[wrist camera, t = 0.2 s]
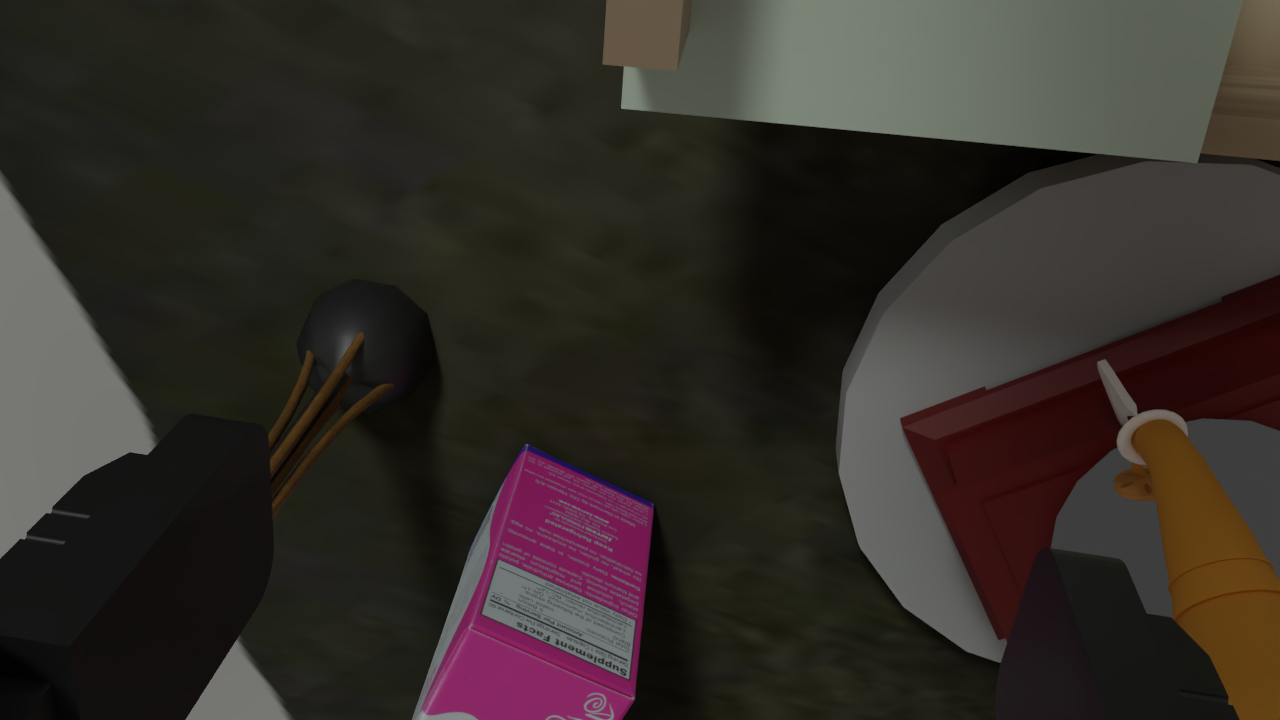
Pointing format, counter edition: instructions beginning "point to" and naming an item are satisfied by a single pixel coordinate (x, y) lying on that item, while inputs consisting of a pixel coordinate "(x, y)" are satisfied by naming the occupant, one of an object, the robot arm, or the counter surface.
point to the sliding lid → (937, 67)
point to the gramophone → (1083, 405)
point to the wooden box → (1249, 88)
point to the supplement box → (546, 602)
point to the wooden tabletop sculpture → (348, 369)
